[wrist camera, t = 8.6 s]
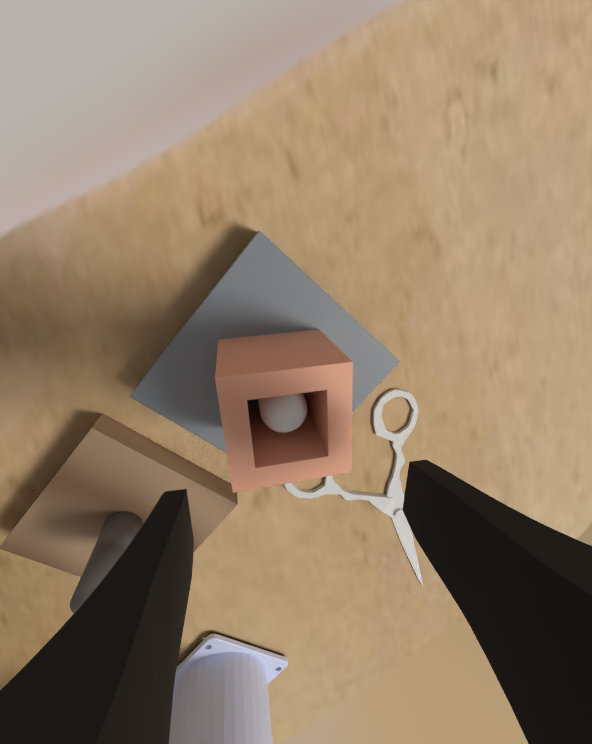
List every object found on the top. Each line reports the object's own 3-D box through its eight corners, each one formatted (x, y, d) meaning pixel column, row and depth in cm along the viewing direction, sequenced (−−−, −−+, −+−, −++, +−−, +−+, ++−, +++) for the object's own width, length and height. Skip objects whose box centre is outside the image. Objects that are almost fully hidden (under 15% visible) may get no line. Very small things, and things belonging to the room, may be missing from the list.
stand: (154, 578, 23) (130, 686, 17) (14, 526, 19) (-70, 639, 14) (236, 487, 21) (240, 572, 16) (102, 413, 18) (46, 489, 12)
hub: (279, 470, 21) (297, 549, 16) (137, 384, 18) (97, 448, 12) (388, 353, 20) (449, 395, 14) (256, 231, 16) (272, 226, 11)
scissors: (394, 364, 20) (499, 544, 28) (388, 359, 21) (493, 536, 28) (250, 463, 21) (393, 612, 28) (250, 456, 21) (389, 603, 29)
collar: (321, 415, 19) (351, 472, 14) (231, 428, 18) (232, 492, 13) (318, 329, 17) (352, 361, 12) (218, 339, 16) (214, 378, 12)
